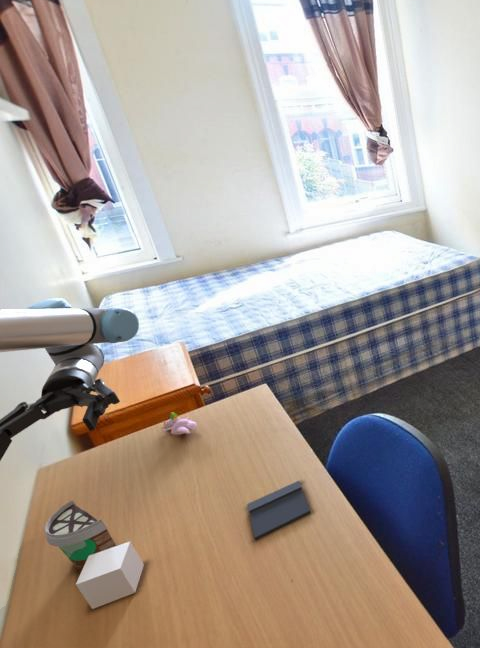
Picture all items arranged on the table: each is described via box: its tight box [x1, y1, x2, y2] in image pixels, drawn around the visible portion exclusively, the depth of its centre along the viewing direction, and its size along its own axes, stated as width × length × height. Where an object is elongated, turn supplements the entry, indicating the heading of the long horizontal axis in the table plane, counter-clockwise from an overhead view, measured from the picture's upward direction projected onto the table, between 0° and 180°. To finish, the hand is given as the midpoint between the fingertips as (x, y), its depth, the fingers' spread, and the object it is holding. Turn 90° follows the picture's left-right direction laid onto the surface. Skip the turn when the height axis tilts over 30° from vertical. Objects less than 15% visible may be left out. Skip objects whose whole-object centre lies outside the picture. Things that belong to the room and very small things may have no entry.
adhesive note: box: [75, 540, 145, 610], centre depth 80 cm, size 6×6×6 cm
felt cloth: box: [247, 480, 311, 541], centre depth 93 cm, size 10×10×1 cm
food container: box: [44, 499, 117, 572], centre depth 84 cm, size 12×6×10 cm, turn 62°
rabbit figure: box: [162, 411, 198, 435], centre depth 120 cm, size 6×6×15 cm
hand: (41, 440), depth 84 cm, fingers open, 13 cm apart
